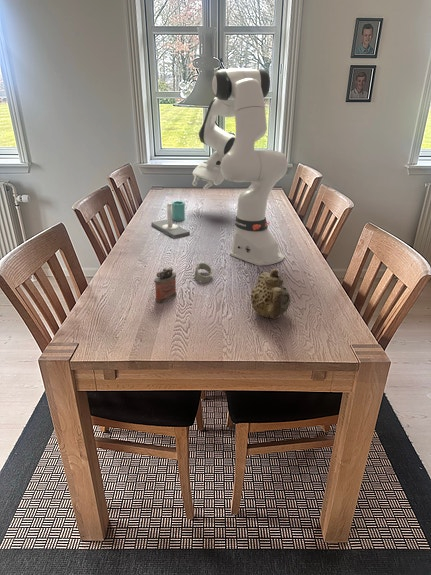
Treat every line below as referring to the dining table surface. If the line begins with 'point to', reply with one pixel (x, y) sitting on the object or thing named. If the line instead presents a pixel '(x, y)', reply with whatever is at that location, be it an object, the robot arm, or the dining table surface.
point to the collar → (178, 210)
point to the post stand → (170, 225)
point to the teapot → (270, 295)
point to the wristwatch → (200, 277)
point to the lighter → (165, 285)
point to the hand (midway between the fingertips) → (198, 187)
